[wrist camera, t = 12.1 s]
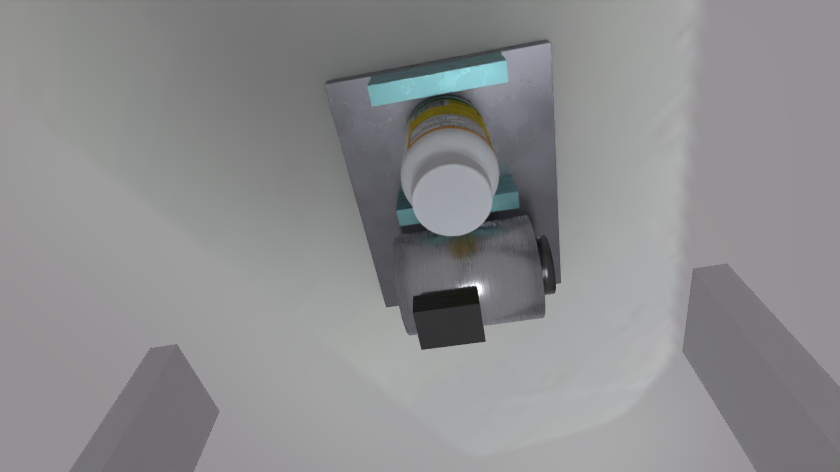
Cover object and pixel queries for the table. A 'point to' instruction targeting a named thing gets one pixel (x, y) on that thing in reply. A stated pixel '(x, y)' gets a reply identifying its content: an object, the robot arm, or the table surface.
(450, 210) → the supplement bottle
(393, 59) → the table surface
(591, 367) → the table surface
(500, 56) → the motor unit
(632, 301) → the table surface
